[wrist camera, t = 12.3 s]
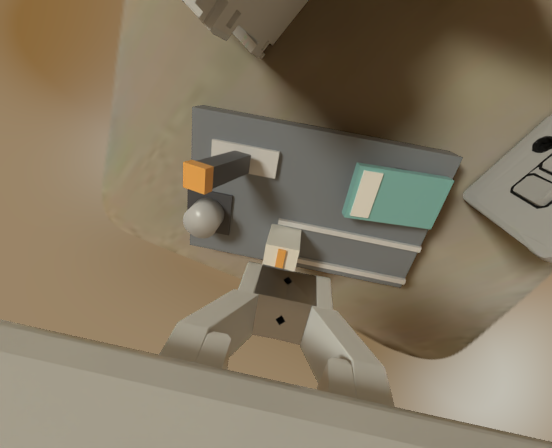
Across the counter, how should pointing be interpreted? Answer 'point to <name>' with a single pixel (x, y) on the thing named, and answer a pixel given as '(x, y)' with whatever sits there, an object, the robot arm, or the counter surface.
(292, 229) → the cream cube orange stripe
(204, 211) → the button
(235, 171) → the toggle lever
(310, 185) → the panel
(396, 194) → the teal tile cream strip
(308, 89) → the counter surface
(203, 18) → the circuit breaker
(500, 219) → the electrical switch
